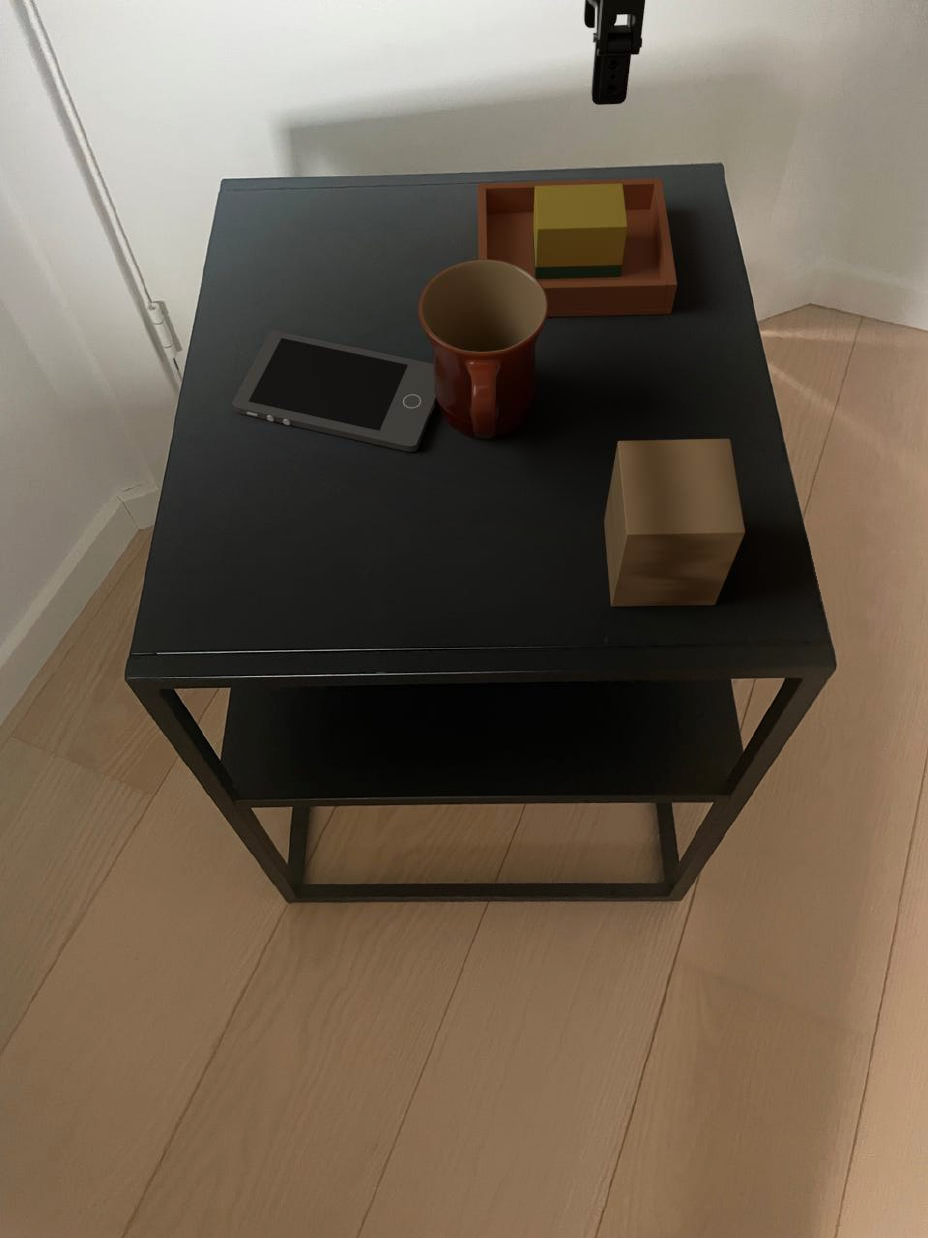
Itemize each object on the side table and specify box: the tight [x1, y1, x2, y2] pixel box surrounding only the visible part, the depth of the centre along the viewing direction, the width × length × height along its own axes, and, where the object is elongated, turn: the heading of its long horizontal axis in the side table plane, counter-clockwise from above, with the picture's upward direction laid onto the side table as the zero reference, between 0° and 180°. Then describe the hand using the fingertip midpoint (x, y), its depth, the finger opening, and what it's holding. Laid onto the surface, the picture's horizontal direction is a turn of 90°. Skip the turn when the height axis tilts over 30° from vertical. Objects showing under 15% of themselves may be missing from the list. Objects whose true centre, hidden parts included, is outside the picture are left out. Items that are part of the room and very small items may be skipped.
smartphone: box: [231, 330, 438, 453], centre depth 74 cm, size 15×8×1 cm, turn 73°
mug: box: [417, 258, 549, 440], centre depth 68 cm, size 12×9×10 cm
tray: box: [477, 177, 678, 318], centre depth 79 cm, size 15×12×3 cm
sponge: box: [533, 184, 628, 279], centre depth 77 cm, size 7×5×5 cm
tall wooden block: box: [603, 438, 746, 608], centre depth 62 cm, size 7×7×9 cm
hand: (603, 61), depth 64 cm, fingers open, 8 cm apart
